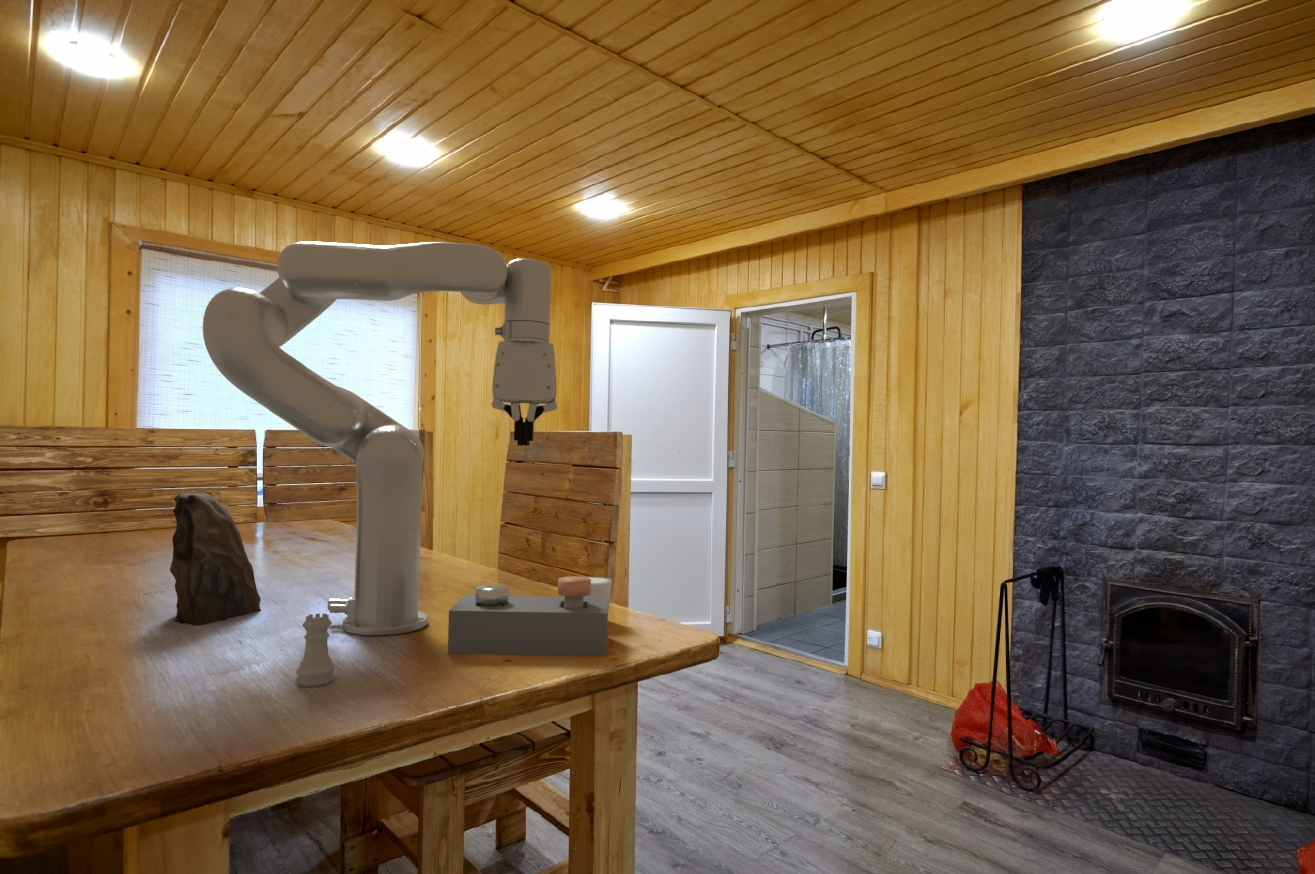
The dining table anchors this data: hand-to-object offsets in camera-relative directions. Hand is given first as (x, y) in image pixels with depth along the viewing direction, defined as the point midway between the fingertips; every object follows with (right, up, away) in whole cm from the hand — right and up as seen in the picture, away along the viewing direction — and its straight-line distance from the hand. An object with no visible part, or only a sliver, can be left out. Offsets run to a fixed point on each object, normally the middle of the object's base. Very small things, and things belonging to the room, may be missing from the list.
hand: (523, 445), depth 119 cm
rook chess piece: (-19, -29, -32) cm, 47 cm away
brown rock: (-50, -28, -3) cm, 57 cm away
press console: (+4, -29, -14) cm, 33 cm away
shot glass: (+11, -30, 0) cm, 32 cm away
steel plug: (-2, -28, -14) cm, 32 cm away
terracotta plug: (+10, -27, -14) cm, 32 cm away
